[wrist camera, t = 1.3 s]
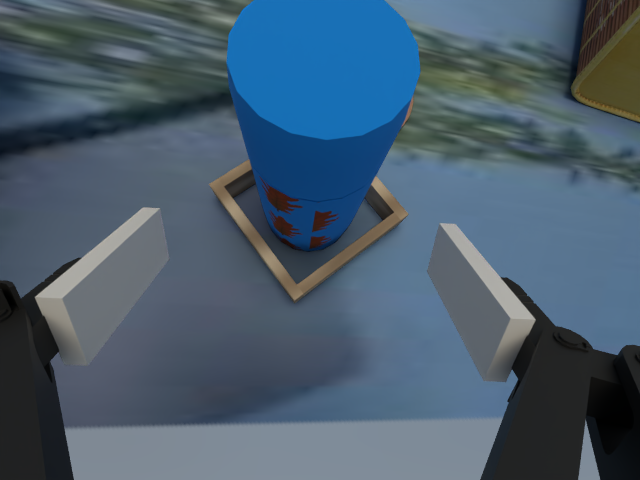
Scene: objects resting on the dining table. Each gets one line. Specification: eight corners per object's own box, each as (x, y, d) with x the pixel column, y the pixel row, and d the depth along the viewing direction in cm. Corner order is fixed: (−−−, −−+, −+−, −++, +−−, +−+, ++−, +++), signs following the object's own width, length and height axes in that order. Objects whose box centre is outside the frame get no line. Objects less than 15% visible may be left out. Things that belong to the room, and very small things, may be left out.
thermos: (303, 156, 44) (313, -53, 20) (367, 207, 43) (460, 49, 18) (247, 215, 41) (178, 57, 17) (313, 270, 40) (339, 184, 16)
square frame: (217, 197, 41) (208, 184, 38) (320, 131, 45) (322, 113, 41) (294, 303, 39) (294, 300, 35) (398, 224, 42) (408, 214, 38)
